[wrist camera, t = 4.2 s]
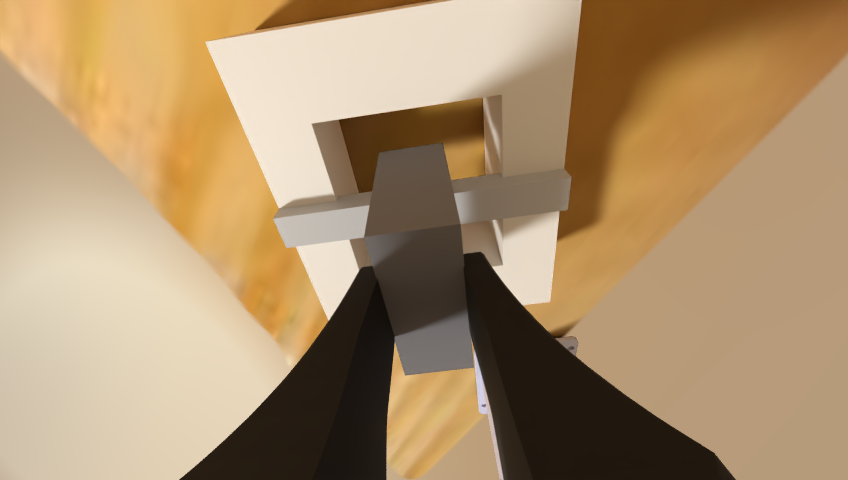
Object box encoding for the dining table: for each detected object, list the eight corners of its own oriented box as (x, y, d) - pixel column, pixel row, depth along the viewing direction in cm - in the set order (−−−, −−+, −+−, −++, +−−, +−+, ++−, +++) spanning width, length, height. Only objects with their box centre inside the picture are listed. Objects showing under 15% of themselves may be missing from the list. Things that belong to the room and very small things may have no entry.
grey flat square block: (455, 264, 16) (473, 367, 12) (405, 271, 16) (405, 375, 12) (442, 142, 13) (460, 223, 8) (379, 152, 13) (363, 237, 9)
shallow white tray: (527, 253, 22) (555, 313, 18) (343, 277, 23) (329, 340, 19) (540, -18, 14) (596, -24, 10) (253, 30, 14) (192, 45, 10)
